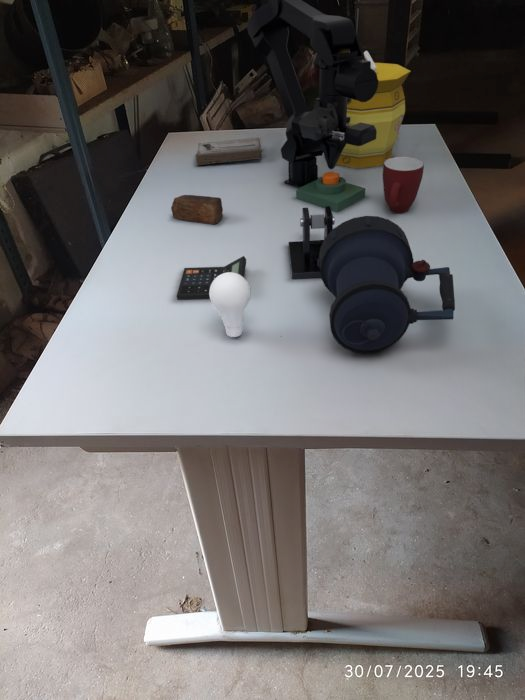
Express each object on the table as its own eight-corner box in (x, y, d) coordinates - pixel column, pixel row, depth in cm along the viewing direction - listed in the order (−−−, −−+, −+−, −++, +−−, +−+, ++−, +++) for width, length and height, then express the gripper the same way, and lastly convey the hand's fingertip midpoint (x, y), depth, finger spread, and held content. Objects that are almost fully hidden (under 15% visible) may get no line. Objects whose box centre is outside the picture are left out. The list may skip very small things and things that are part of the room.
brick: (224, 217, 118) (221, 196, 115) (216, 225, 115) (214, 204, 112) (181, 212, 121) (177, 192, 118) (172, 219, 118) (169, 199, 115)
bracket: (288, 247, 106) (287, 199, 100) (339, 244, 106) (341, 196, 99) (292, 279, 97) (290, 229, 90) (347, 276, 96) (350, 225, 90)
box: (262, 160, 142) (261, 148, 140) (196, 166, 142) (195, 154, 141) (261, 148, 150) (260, 136, 149) (199, 153, 151) (198, 142, 149)
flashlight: (316, 288, 93) (433, 283, 92) (323, 375, 78) (464, 371, 77) (316, 212, 83) (448, 205, 82) (325, 295, 68) (487, 288, 67)
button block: (296, 198, 124) (295, 181, 121) (323, 184, 129) (324, 168, 127) (337, 212, 117) (338, 194, 114) (365, 197, 122) (366, 180, 120)
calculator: (185, 271, 101) (182, 257, 99) (247, 270, 100) (246, 255, 98) (177, 299, 93) (174, 285, 91) (244, 298, 93) (243, 283, 91)
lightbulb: (214, 326, 87) (206, 266, 80) (252, 322, 87) (248, 262, 80) (215, 349, 82) (207, 288, 75) (255, 346, 82) (250, 284, 75)
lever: (300, 228, 106) (299, 216, 105) (325, 227, 106) (325, 214, 105) (304, 229, 95) (303, 215, 94) (332, 227, 95) (332, 213, 94)
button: (319, 183, 121) (319, 175, 120) (329, 178, 123) (329, 170, 122) (332, 187, 119) (332, 179, 118) (342, 181, 121) (342, 174, 120)
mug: (414, 224, 111) (420, 176, 104) (374, 220, 113) (378, 174, 107) (419, 203, 118) (425, 157, 112) (382, 200, 120) (386, 155, 114)
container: (356, 179, 131) (362, 64, 115) (304, 156, 145) (303, 51, 129) (418, 158, 139) (432, 49, 123) (363, 138, 153) (369, 38, 138)
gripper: (272, 94, 110) (275, 170, 120) (345, 108, 99) (342, 190, 109) (308, 83, 116) (308, 156, 126) (380, 95, 105) (374, 173, 115)
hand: (331, 168), depth 119 cm, fingers closed
